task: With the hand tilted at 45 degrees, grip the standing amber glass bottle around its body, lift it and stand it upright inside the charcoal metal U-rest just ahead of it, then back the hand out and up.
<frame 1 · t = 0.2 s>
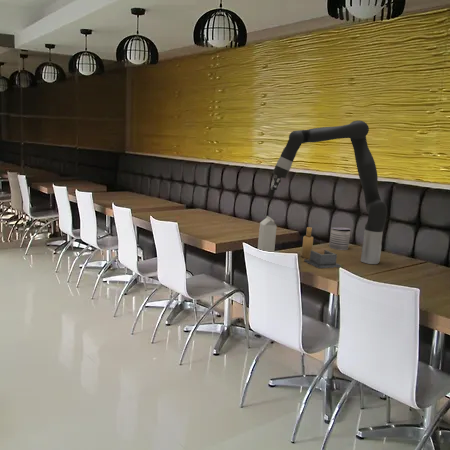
hand: (269, 196, 273), 31 cm above the table, tool tilted 20°, fingers open, 8 cm apart
milk carton: (265, 251, 284), on the table
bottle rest: (322, 264, 266), on the table
amber bottle: (306, 257, 279), on the table
can: (338, 248, 309), on the table
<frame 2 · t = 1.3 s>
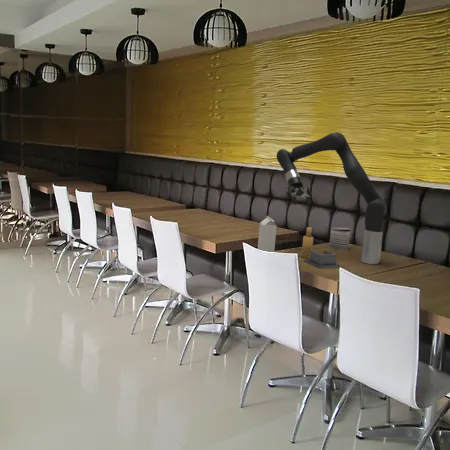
hand: (302, 203, 284), 27 cm above the table, tool tilted 45°, fingers open, 8 cm apart
nothing on the table moved.
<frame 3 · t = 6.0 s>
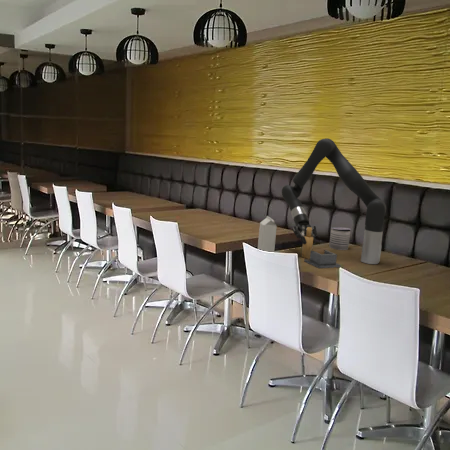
hand: (309, 243, 276), 8 cm above the table, tool tilted 45°, fingers closed on amber bottle, 5 cm apart
amber bottle: (306, 257, 279), on the table, touching gripper
everything else where it was.
when the fingers open (10 cm above the table, at t = 12.1 s): amber bottle drops 1 cm, resting on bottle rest.
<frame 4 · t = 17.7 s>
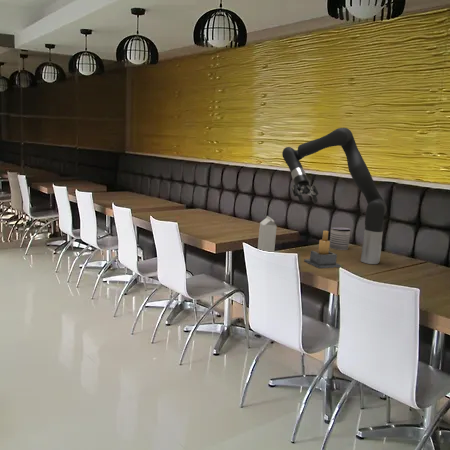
hand: (309, 202, 279), 29 cm above the table, tool tilted 45°, fingers open, 8 cm apart
amber bottle: (322, 261, 266), point 1 cm above the table, touching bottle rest
everything else where it was.
at the end: amber bottle 0.1 cm off-centre on the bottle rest, point 1.2 cm above the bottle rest's base; amber bottle tilted 0°; the gripper is holding nothing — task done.
